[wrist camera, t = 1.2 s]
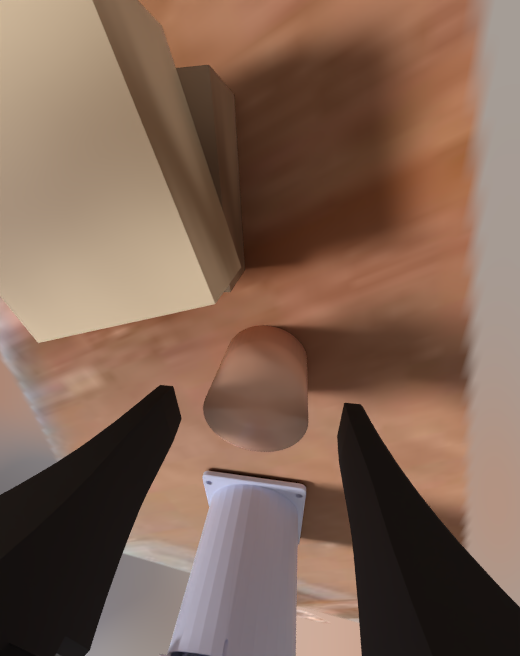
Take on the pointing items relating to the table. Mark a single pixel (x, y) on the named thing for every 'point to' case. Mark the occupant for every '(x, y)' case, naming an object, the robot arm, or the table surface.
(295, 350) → the tan cylinder
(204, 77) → the tower base
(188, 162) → the tower top
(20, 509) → the robot arm
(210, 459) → the table surface
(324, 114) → the table surface
